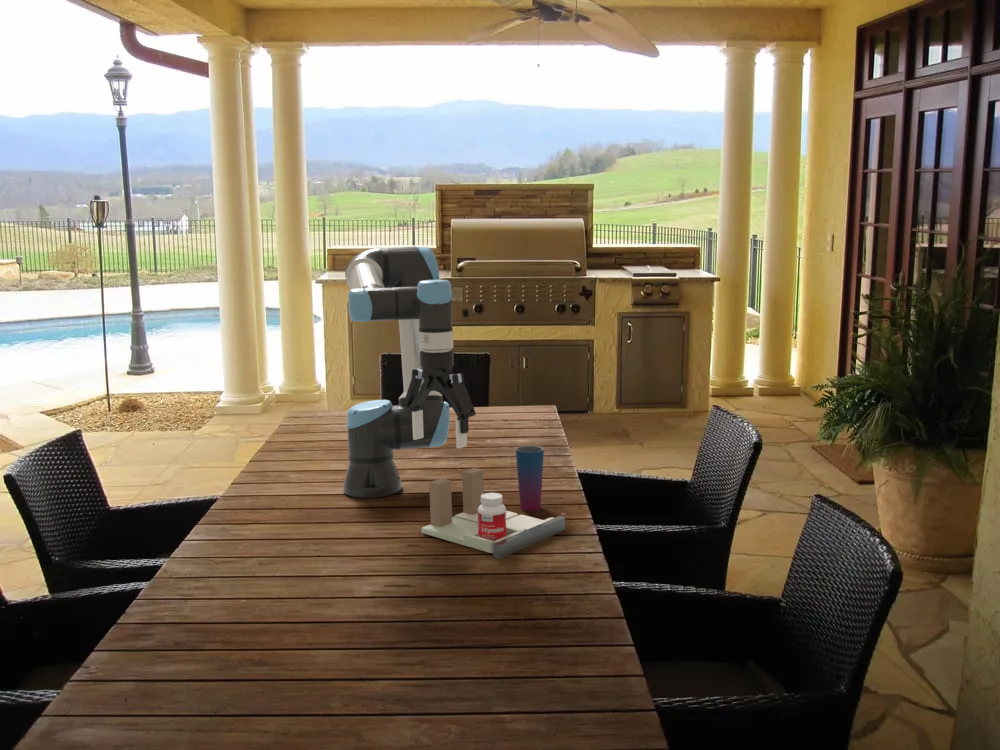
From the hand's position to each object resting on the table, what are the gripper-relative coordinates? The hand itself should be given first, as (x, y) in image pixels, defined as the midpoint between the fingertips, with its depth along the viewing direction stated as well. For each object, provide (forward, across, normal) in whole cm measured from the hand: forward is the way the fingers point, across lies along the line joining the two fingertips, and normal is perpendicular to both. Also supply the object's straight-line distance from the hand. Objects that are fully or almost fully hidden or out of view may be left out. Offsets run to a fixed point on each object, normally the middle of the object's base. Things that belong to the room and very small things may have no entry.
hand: (439, 442), depth 214 cm
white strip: (+20, +15, +11) cm, 28 cm away
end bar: (+20, +22, +5) cm, 30 cm away
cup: (+21, +6, +24) cm, 33 cm away
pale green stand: (+20, +9, 0) cm, 23 cm away
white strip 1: (+20, +4, +11) cm, 24 cm away
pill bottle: (+21, +15, 0) cm, 26 cm away
